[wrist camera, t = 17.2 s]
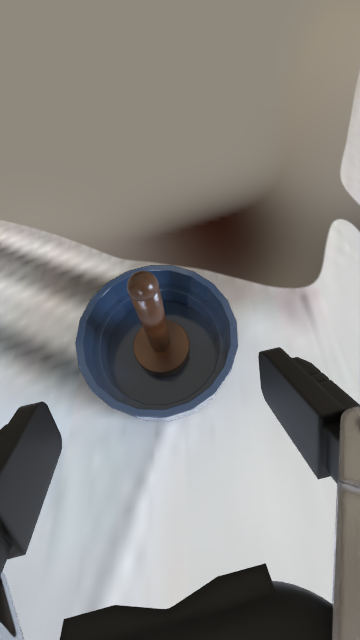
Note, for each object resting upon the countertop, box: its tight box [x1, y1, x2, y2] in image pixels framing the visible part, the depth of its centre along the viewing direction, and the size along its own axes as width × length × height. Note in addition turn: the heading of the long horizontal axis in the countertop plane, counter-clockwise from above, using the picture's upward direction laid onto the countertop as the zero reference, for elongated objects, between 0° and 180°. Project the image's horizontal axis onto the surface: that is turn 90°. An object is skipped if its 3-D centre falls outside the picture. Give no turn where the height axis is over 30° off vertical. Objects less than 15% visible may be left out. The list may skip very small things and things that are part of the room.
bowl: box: [76, 265, 238, 421], centre depth 25 cm, size 13×13×6 cm
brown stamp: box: [127, 271, 190, 377], centre depth 21 cm, size 5×5×13 cm
